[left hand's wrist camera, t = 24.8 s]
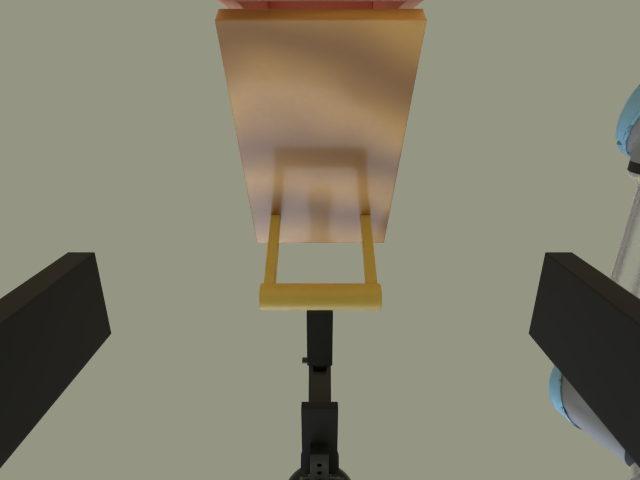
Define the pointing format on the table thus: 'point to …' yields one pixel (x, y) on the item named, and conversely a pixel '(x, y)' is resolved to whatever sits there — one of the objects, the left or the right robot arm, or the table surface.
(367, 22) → the lid
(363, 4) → the chest
